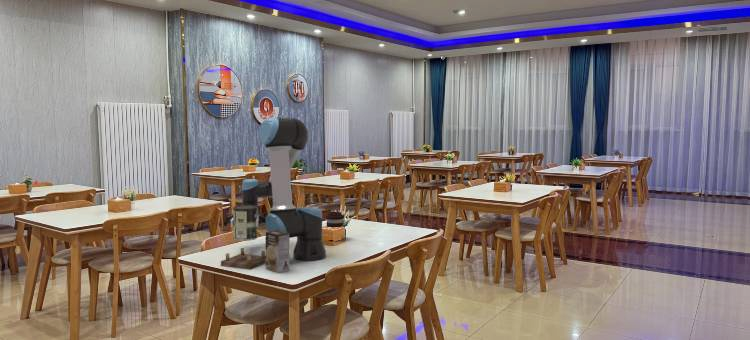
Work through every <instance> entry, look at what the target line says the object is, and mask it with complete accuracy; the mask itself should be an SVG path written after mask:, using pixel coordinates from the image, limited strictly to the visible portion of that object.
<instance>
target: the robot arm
mask: <svg viewBox="0 0 750 340" xmlns="http://www.w3.org/2000/svg"><path fill="white" fill-rule="evenodd" d="M258 137H259V141H260V143H261V144H263V145H264V148H265V151H268V155H269V169H270V177H269V179H268V180H267V181H263V182H259V179H256V178H245V179H243V180H242V185H241V195H242V197H241V198H242V201H241V205H252V206H257V219H256V227H257V228H258V227H259V224H262V223H263V224H265V229H266V232H269V231H275V230H279V231H282V232H286V233H290V234H289V239H291V238H296V243H295V245H294V248H293V252H292V257H293V259H295V260H298V261H299V260H300V261H318V260H323V259H325V258H326V255H327V254H326V253H327V251H326V248H325V245H324V242H323V219H324V218H323V211H322V210H321V209H319V208H315V207H308V206H298V207H297V206H296V205H295V204H293V196H292V195H293V194H292V180H291V170H292V169H293V166H294V164H295V163H296V160H297V159H298V156H299V155H300V153H301V151H303V150H305V148H306V146H307V144H308V141H309V130H308V128H307V126H306V124H305V123H304V122H303V121H302V120H300V119H298V118H296V117H295V118H292V117H291V118H289V117H286V118H285V117H268V118H264V119H263V121H262V122H261V124H260V127H259V131H258ZM261 198H272V206H271V208H269V214H267V215H266V216H264V214H263V213H259V204H258V203H259V199H261ZM225 224H228V225H230V228H232V227H233V228H234V226H233V213H232V214H231V215H229V216H226V217H225Z"/></svg>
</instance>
